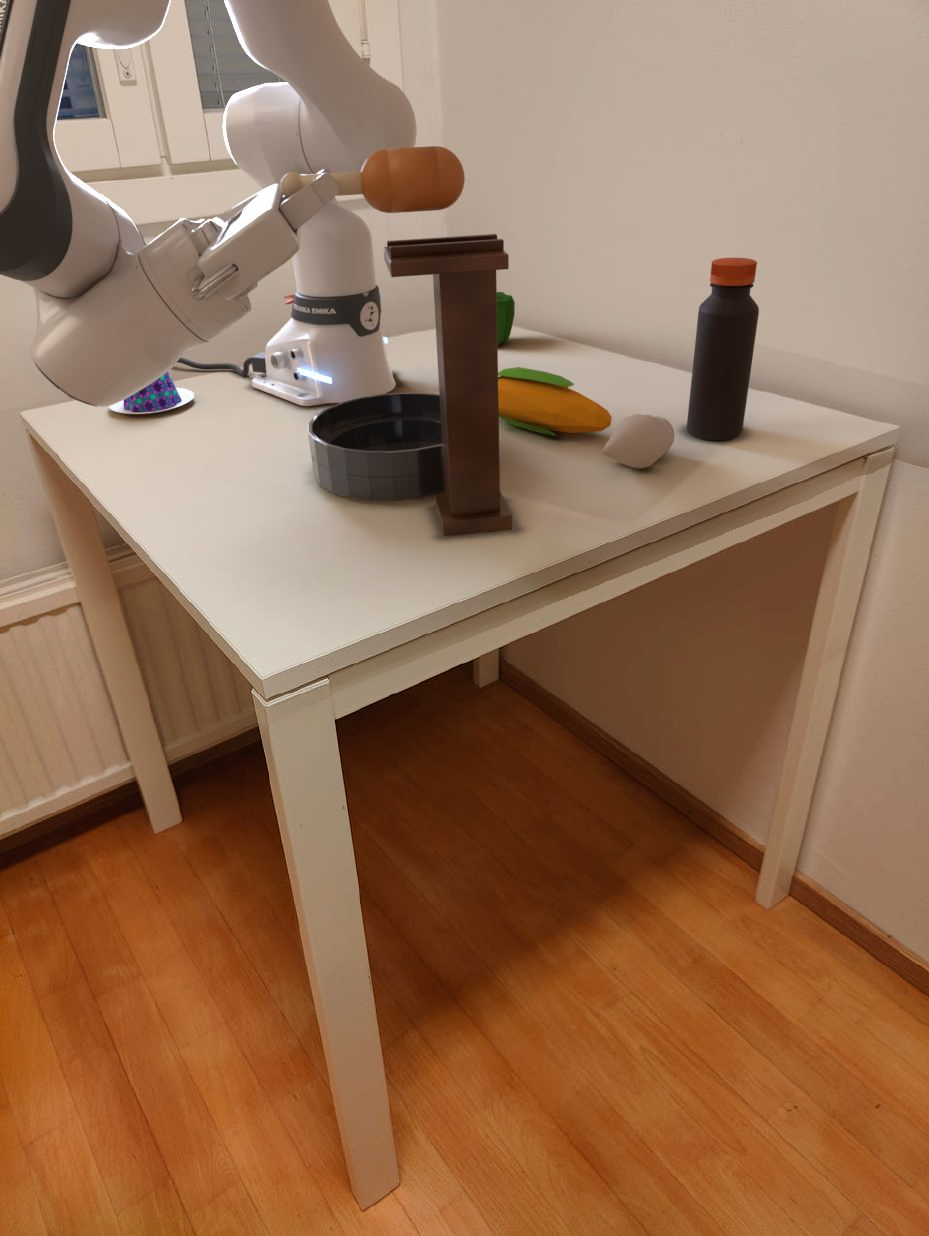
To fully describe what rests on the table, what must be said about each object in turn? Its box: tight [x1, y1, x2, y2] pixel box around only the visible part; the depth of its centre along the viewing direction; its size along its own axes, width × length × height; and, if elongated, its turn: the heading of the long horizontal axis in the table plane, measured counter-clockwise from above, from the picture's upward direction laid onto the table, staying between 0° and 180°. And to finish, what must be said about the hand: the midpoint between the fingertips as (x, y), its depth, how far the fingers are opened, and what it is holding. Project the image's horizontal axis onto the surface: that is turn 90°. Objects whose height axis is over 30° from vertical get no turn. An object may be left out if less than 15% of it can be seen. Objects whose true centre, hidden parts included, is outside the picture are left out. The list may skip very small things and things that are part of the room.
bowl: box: [307, 392, 445, 502], centre depth 100 cm, size 20×20×6 cm
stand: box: [383, 233, 513, 537], centre depth 82 cm, size 10×8×27 cm
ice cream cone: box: [600, 413, 675, 470], centre depth 97 cm, size 6×6×15 cm
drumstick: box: [280, 145, 466, 214], centre depth 72 cm, size 15×5×5 cm, turn 99°
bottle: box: [686, 257, 760, 441], centre depth 103 cm, size 7×7×20 cm
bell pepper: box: [497, 291, 516, 346], centre depth 145 cm, size 8×8×10 cm
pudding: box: [108, 371, 195, 415], centre depth 124 cm, size 12×12×5 cm
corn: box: [498, 366, 613, 437], centre depth 109 cm, size 7×8×20 cm
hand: (334, 178), depth 71 cm, fingers closed on drumstick
